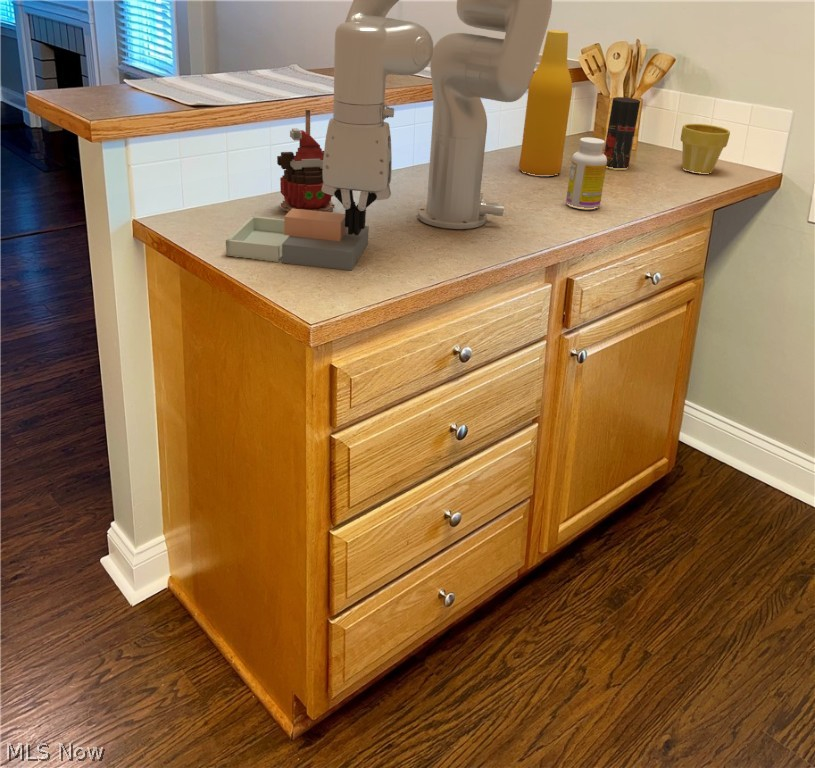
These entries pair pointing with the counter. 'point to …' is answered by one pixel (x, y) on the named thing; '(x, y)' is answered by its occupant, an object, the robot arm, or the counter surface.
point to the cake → (304, 174)
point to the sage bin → (258, 239)
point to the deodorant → (621, 131)
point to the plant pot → (702, 146)
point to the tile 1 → (299, 222)
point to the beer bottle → (547, 109)
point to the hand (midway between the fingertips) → (354, 232)
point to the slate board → (325, 250)
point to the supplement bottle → (587, 174)
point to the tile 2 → (329, 226)
